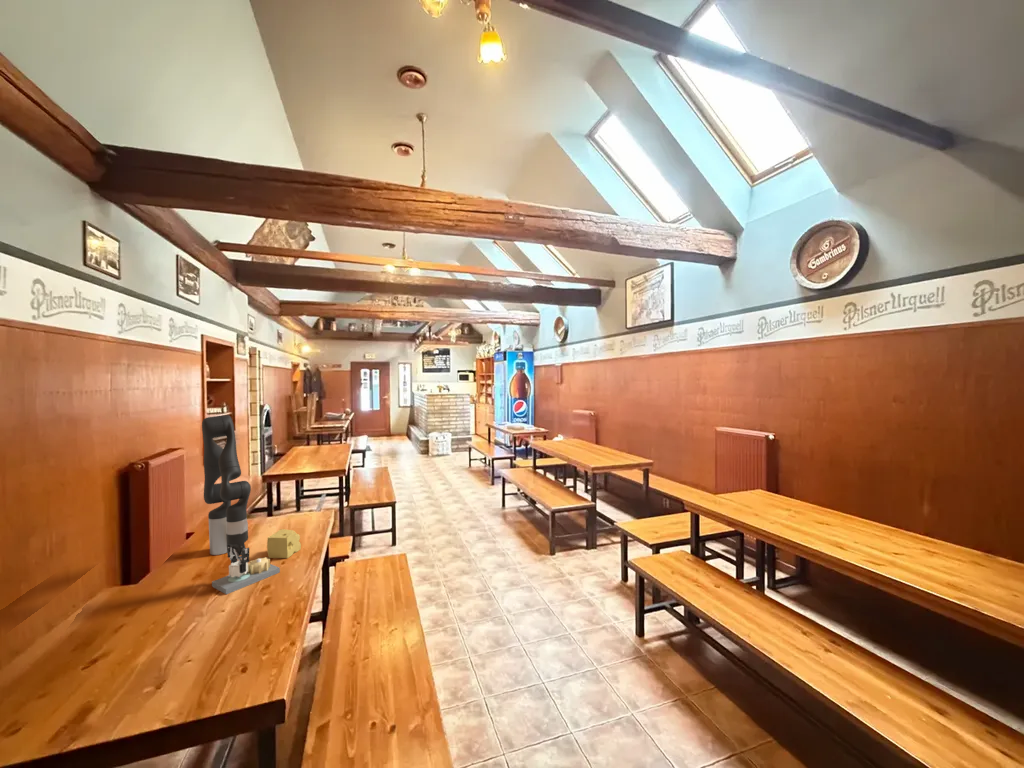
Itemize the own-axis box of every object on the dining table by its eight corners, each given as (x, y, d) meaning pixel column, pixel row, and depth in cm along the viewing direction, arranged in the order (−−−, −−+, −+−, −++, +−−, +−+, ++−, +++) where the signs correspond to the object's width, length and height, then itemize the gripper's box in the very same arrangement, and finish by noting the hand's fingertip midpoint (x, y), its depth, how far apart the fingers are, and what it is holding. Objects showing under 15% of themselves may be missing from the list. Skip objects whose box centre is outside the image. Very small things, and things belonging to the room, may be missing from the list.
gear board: (212, 586, 172) (211, 569, 172) (265, 565, 190) (264, 550, 189) (226, 594, 165) (225, 576, 165) (279, 572, 183) (279, 556, 183)
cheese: (301, 549, 207) (300, 529, 207) (287, 559, 196) (286, 538, 196) (281, 549, 208) (280, 528, 208) (266, 558, 197) (265, 537, 197)
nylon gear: (226, 574, 174) (226, 565, 174) (243, 568, 179) (242, 558, 179) (234, 578, 170) (233, 568, 170) (251, 571, 176) (250, 562, 176)
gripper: (218, 530, 175) (220, 570, 175) (235, 536, 167) (237, 578, 168) (238, 524, 181) (239, 562, 182) (255, 530, 174) (257, 570, 174)
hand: (238, 570), depth 175 cm, fingers closed on nylon gear, 6 cm apart
